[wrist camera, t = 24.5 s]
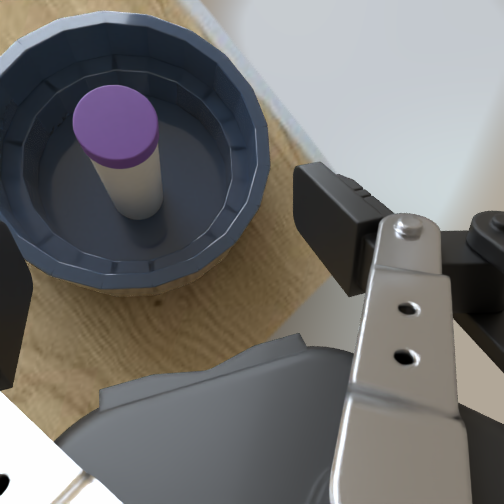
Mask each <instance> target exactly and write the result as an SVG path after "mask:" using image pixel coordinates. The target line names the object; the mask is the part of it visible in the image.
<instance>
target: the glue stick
mask: <svg viewBox="0 0 504 504" xmlns="http://www.w3.org/2000/svg"><path fill="white" fill-rule="evenodd" d="M73 130H74V133H75V136H76V138H77V140H78V142H79V143H80V145H81V147H82V149H83V150H84V152H85V153H86V154H87V155H88V157H90V159H91V161H92V163H93V165H94V167H95V169H96V171H97V173H98V174H99V176H100V178H101V180H102V182H103V184H104V186H105V188H106V190H107V192H108V194H109V196H110V197H111V199H112V201H113V203H114V205H115V207H116V209H117V210H118V211H119V212H120V213H121V214H122V215H124V216H125V217H127V218H130V219H134V220H142V219H147V218H149V217H151V216H153V215H154V214H155V213H156V212H157V211H158V210H159V209H160V207H161V205H162V202H163V190H162V180H161V170H160V160H159V150H158V140H159V126H158V118H157V114H156V111H155V109H154V107H153V106H152V104H151V103H150V102H149V101H148V99H147V98H146V97H144V96H143V95H142V94H140V93H139V92H137V91H136V90H134V89H131V88H129V87H125V86H120V85H107V86H102V87H99V88H96V89H94V90H92V91H90V92H89V93H87V94H86V95H85V96H84V97H83V98H82V99H81V100H80V101H79V103H78V104H77V106H76V108H75V111H74V114H73Z"/></svg>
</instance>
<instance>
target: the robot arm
mask: <svg viewBox="0 0 504 504" xmlns="http://www.w3.org/2000/svg"><path fill="white" fill-rule="evenodd" d="M293 217H294V222H295V225H296V228H297V230H298V231H299V233H300V234H301V235H302V237H303V238H304V239H305V241H306V242H307V243H308V245H309V246H310V247H311V248H312V250H313V251H314V252H315V254H316V255H317V256H318V258H319V259H320V260H321V262H322V263H323V264H324V265H325V267H326V268H327V269H328V271H329V272H330V273H331V275H332V276H333V277H334V278H335V280H336V281H337V282H338V284H339V285H340V286H341V288H342V289H343V290H344V291H345V293H346V294H347V295H348V297H352V296H355V295H359V294H363V293H365V299H364V304H363V310H362V314H361V320H360V325H359V331H358V336H357V342H356V346H355V352H354V354H353V353H351V352H347V351H344V350H340V349H335V348H329V347H319V346H317V347H315V346H308V347H307V346H306V344H305V342H304V341H303V339H302V337H301V335H300V333H297V334H293V335H290V336H286V337H283V338H279V339H276V340H272V341H269V342H265V343H261V344H258V345H254V346H252V347H251V348H249V349H247V350H245V351H243V352H241V353H239V354H238V355H236V356H234V357H232V358H230V359H228V360H226V361H225V362H223V363H221V364H219V365H217V366H215V367H213V368H211V369H209V370H205V371H195V372H181V373H167V374H153V375H149V376H146V377H142V378H139V379H135V380H132V381H128V382H125V383H121V384H118V385H114V386H111V387H107V388H103V389H100V390H99V408H97V409H95V410H93V411H92V412H90V413H89V414H87V415H85V416H84V417H82V418H81V419H79V420H78V421H77V422H76V423H74V424H73V425H72V426H70V427H69V428H68V429H67V430H66V431H65V432H63V433H62V434H61V435H60V436H59V437H58V438H57V439H56V440H55V441H54V442H53V441H52V440H51V439H49V438H48V437H47V436H46V435H45V434H44V433H43V432H42V431H41V430H40V429H39V428H38V427H37V426H36V425H35V424H34V423H33V422H32V421H31V420H30V419H29V418H27V417H26V416H25V415H24V414H23V413H22V412H21V411H20V410H19V409H18V408H17V407H16V406H15V405H14V404H13V403H12V402H11V401H10V400H9V399H8V398H7V397H5V396H4V395H3V394H2V393H1V392H0V504H504V424H502V423H500V422H497V421H495V420H493V419H491V418H489V417H487V416H485V415H483V414H481V413H479V412H477V411H475V410H472V409H470V408H468V407H466V406H464V405H462V404H460V403H458V395H457V379H456V364H455V346H454V330H453V318H454V320H455V321H456V322H457V323H458V324H459V325H460V326H461V327H462V328H463V330H464V331H465V332H466V333H467V334H468V335H469V336H470V337H471V338H472V339H473V340H474V341H475V342H476V344H477V345H478V346H479V347H480V348H481V349H482V350H483V351H484V352H485V353H486V354H487V355H488V357H489V358H490V359H491V360H492V361H493V362H494V363H495V364H496V365H497V366H498V367H499V368H500V370H501V371H502V372H503V373H504V212H502V211H485V212H481V213H478V214H476V215H475V216H474V217H473V219H472V222H471V225H470V228H469V231H440V229H439V227H438V226H437V225H436V223H434V222H433V221H431V220H430V219H427V218H426V217H423V216H420V215H416V214H410V213H409V214H408V213H397V214H394V213H393V212H392V211H391V210H389V209H388V208H387V207H386V206H385V205H384V204H382V203H381V202H380V201H379V200H377V199H376V198H375V197H374V196H371V194H370V193H369V192H368V191H366V190H363V187H362V186H360V185H359V184H358V183H357V182H355V181H354V180H353V179H350V178H347V177H344V176H342V175H340V174H337V175H336V174H335V173H333V172H332V171H331V170H330V169H329V168H328V167H326V166H325V165H324V164H323V163H322V162H315V163H310V164H304V165H299V166H296V167H295V169H294V173H293ZM32 292H33V282H32V277H31V273H30V270H29V268H28V266H27V264H26V262H25V260H24V258H23V256H22V254H21V252H20V250H19V248H18V246H17V244H16V242H15V240H14V238H13V236H12V234H11V232H10V230H9V228H8V227H7V225H6V224H5V223H4V222H2V221H0V391H2V390H5V389H9V388H12V387H13V383H14V378H15V373H16V368H17V364H18V359H19V354H20V349H21V345H22V340H23V335H24V330H25V326H26V321H27V316H28V311H29V306H30V302H31V297H32Z"/></svg>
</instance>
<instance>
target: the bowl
mask: <svg viewBox="0 0 504 504" xmlns="http://www.w3.org/2000/svg"><path fill="white" fill-rule="evenodd" d="M107 85H120V86H125V87H129V88H131V89H134V90H136V91H137V92H139V93H140V94H142V95H143V96H144V97H146V98H147V99H148V101H149V102H150V103H151V104H152V106H153V107H154V109H155V111H156V114H157V118H158V126H159V140H158V150H159V160H160V170H161V180H162V190H163V202H162V205H161V207H160V209H159V210H158V211H157V212H156V213H155V214H154V215H153V216H151V217H149V218H147V219H142V220H134V219H130V218H127V217H125V216H124V215H122V214H121V213H120V212H119V211H118V210H117V209H116V207H115V205H114V203H113V201H112V199H111V197H110V196H109V194H108V192H107V190H106V188H105V186H104V184H103V182H102V180H101V178H100V176H99V174H98V173H97V171H96V169H95V167H94V165H93V163H92V161H91V159H90V157H88V155H87V154H86V153H85V152H84V150H83V149H82V147H81V145H80V143H79V142H78V140H77V138H76V136H75V133H74V130H73V114H74V111H75V108H76V106H77V104H78V103H79V101H80V100H81V99H82V98H83V97H84V96H85V95H86V94H87V93H89V92H90V91H92V90H94V89H96V88H99V87H102V86H107ZM267 126H268V125H267V123H266V120H265V118H264V115H263V113H262V110H261V108H260V105H259V103H258V100H257V98H256V95H255V93H254V90H253V88H252V87H251V86H250V84H249V83H248V82H247V81H246V80H245V78H244V77H243V76H242V75H241V73H240V72H239V71H238V70H237V68H236V67H235V66H234V65H233V63H232V62H231V61H230V60H229V58H228V57H227V56H226V55H225V54H224V53H222V52H221V51H220V50H218V49H217V48H215V47H214V46H213V45H211V44H210V43H208V42H207V41H205V40H204V39H203V38H201V37H200V36H198V35H197V34H196V33H194V32H193V31H190V30H189V29H186V28H184V27H181V26H178V25H175V24H173V23H170V22H167V21H164V20H162V19H159V18H156V17H154V16H151V15H147V14H136V13H125V12H113V11H98V12H92V13H87V14H81V15H76V16H70V17H65V18H60V19H58V20H55V21H53V22H51V23H49V24H47V25H45V26H43V27H41V28H39V29H37V30H35V31H33V32H31V33H29V34H27V35H25V36H23V37H21V38H19V39H17V41H15V42H14V43H13V44H12V45H11V46H10V47H9V48H8V49H7V50H6V51H5V52H4V53H3V54H2V55H1V56H0V221H2V222H4V223H5V224H6V225H7V227H8V228H9V230H10V232H11V234H12V236H13V238H14V240H15V242H16V244H17V246H18V248H19V250H20V252H21V254H22V256H23V258H24V259H25V260H26V261H28V262H29V263H31V264H32V265H34V266H35V267H37V268H38V269H40V270H42V271H43V272H45V273H46V274H48V275H49V276H52V277H54V278H57V279H59V280H62V281H65V282H67V283H70V284H73V285H76V286H78V287H82V288H86V289H89V290H93V291H97V292H101V293H104V294H108V295H112V296H117V297H125V296H148V295H159V294H162V293H165V292H167V291H170V290H173V289H176V288H178V287H181V286H184V285H187V284H189V283H192V282H194V281H196V280H197V279H199V278H200V277H201V276H203V275H204V274H205V273H206V272H208V271H209V270H210V269H212V268H213V267H214V266H215V265H217V264H218V263H219V262H221V261H222V260H223V259H224V258H225V257H226V256H227V254H228V253H229V252H230V250H231V249H232V248H233V246H234V245H235V244H236V242H237V241H238V239H239V238H240V236H241V235H242V233H243V232H244V230H245V229H246V227H247V226H248V224H249V223H250V221H251V220H252V218H253V217H254V216H255V214H256V213H257V211H258V210H259V207H260V205H261V202H262V198H263V194H264V190H265V187H266V183H267V179H268V175H269V172H270V151H269V137H268V127H267Z"/></svg>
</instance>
